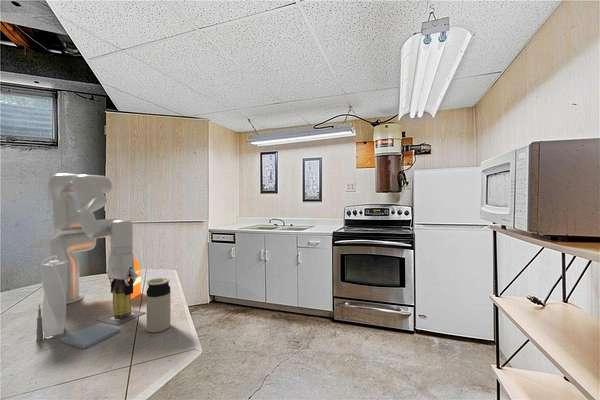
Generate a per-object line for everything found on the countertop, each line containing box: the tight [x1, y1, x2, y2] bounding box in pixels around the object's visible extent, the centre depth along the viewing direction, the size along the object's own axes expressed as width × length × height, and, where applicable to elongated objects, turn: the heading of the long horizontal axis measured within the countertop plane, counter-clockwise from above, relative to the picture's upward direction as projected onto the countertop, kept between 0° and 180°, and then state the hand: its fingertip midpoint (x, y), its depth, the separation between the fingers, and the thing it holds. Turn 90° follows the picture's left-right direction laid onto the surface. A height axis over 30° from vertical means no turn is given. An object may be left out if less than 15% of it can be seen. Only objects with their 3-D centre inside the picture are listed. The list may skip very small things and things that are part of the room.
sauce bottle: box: [112, 279, 132, 318], centre depth 111 cm, size 6×6×20 cm
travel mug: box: [146, 277, 171, 334], centre depth 101 cm, size 8×8×18 cm
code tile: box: [96, 309, 147, 326], centre depth 111 cm, size 12×12×1 cm
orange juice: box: [128, 255, 142, 300], centre depth 133 cm, size 8×9×20 cm
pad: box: [60, 323, 121, 350], centre depth 95 cm, size 12×12×1 cm
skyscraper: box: [35, 255, 68, 343], centre depth 97 cm, size 8×8×28 cm
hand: (122, 292), depth 111 cm, fingers open, 7 cm apart
